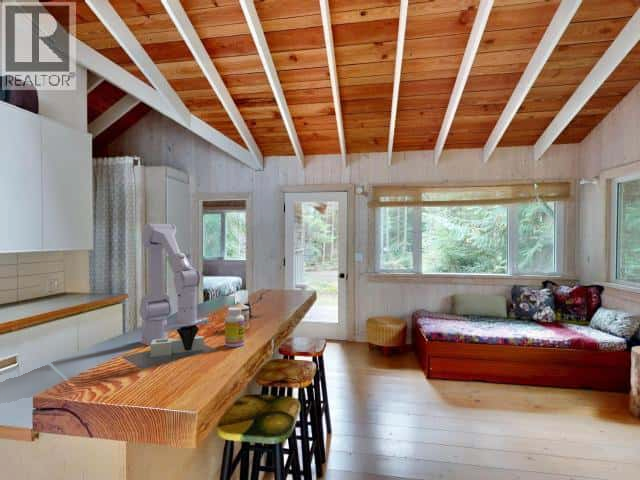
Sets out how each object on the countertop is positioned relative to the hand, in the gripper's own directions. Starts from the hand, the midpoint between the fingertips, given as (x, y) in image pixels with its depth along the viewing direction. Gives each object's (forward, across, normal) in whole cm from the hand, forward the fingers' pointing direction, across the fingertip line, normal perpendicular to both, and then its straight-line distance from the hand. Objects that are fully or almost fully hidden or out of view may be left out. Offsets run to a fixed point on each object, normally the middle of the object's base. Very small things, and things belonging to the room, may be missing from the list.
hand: (187, 349), depth 114 cm
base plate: (+2, -3, +6) cm, 7 cm away
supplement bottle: (+2, +17, -1) cm, 17 cm away
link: (+1, -1, +5) cm, 6 cm away
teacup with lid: (+2, +33, +19) cm, 38 cm away
